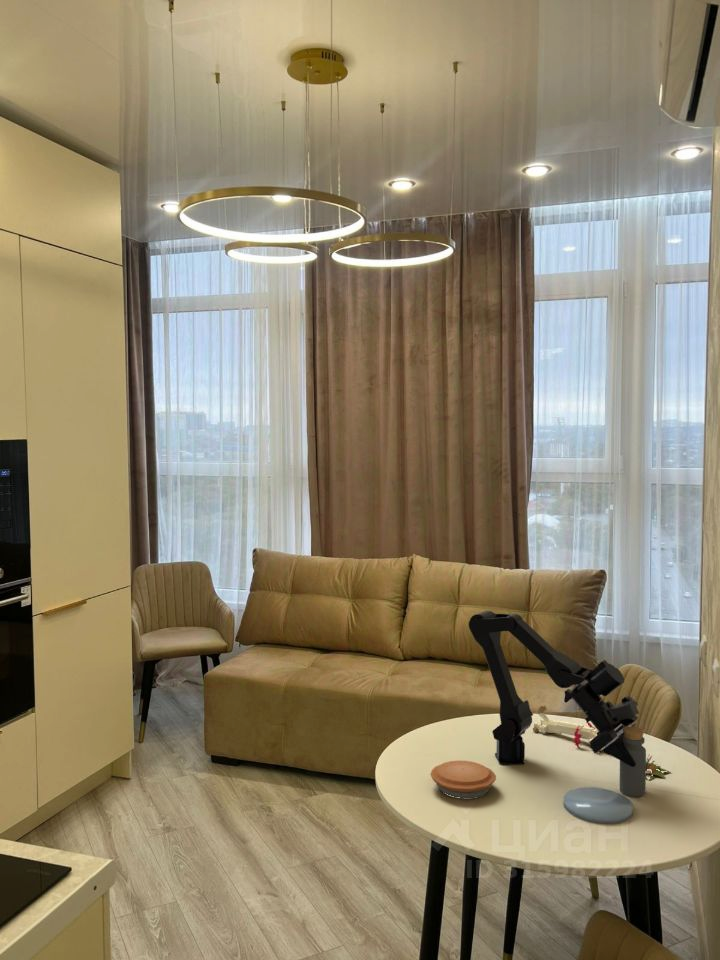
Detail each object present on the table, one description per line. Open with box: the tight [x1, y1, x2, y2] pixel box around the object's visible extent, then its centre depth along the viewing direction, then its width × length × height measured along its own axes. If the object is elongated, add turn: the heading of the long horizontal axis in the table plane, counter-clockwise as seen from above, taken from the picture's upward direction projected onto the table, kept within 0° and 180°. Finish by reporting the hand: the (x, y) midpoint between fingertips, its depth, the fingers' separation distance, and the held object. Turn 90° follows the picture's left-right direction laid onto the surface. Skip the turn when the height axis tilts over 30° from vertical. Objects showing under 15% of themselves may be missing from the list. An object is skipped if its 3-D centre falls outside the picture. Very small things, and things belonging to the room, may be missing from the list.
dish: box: [563, 786, 634, 824], centre depth 181 cm, size 15×15×2 cm
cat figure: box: [532, 704, 604, 751], centre depth 221 cm, size 10×9×25 cm
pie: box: [429, 760, 497, 799], centre depth 191 cm, size 15×16×5 cm
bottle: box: [619, 726, 647, 798], centre depth 189 cm, size 6×6×15 cm
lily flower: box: [646, 754, 670, 781], centre depth 201 cm, size 12×12×5 cm
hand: (638, 761), depth 188 cm, fingers closed on bottle, 6 cm apart
